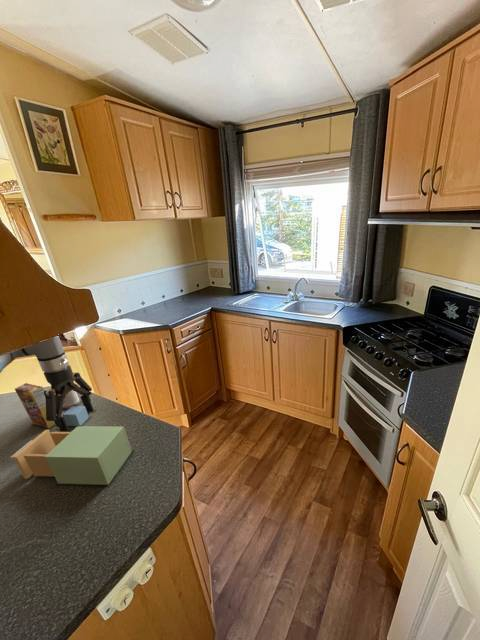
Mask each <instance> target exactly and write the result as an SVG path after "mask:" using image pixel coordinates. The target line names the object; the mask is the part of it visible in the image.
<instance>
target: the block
mask: <svg viewBox="0 0 480 640" xmlns="http://www.w3.org/2000/svg"><path fill="white" fill-rule="evenodd" d="M61 416H62V417H64V419H65V421H66V423H67V426H68V427H77V426H83V424H84V423H85V422H86V421H88V420H89V418H90V416H89V413H88V411H86V408H85V406H84V405H76V406H72V407H71V408H68V409H67V410H66V411H64V412H62V414H61Z"/></svg>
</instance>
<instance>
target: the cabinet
mask: <svg viewBox="0 0 480 640" xmlns="http://www.w3.org/2000/svg"><path fill="white" fill-rule="evenodd" d="M70 432H71V433H70V434H69V435H68V436H66V437H65V438H64V439H63V440H62V441H61V442H60V443H59V444H58V445H57V446H56V447H55V448H54V449H53V450H51V451H50V452H49V453H48V454H47V455H46V456H45V459H46V460H47V462H48V464H49V466H50V468H51V470H52V472H53V474H54V476H53V477H54V478H55V480H56V483H57V484H58V485H59V484H63V485H95V486H96V485H97V486H100V485H101V486H102V485H103V486H109V485H110V483H111V482H112V480H113V479H114V478H115V476H116V475H117V474H118V472H119V471H120V470H121V468H122V466H123V465H124V464H125V462H126V461H127V459H128V458H129V456H130V455H131V454H132V453H133V450H132V448H131V447H132V446H131V445H130V442H129V438H128V435H127V432H126V430H125V426H118V425H117V426H111V425H110V426H106V425H105V426H104V425H103V426H99V425H95V426H94V425H92V426H91V425H89V426H87V425H85V426H84V425H81V426H75V428H73V430H72V431H70Z"/></svg>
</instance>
